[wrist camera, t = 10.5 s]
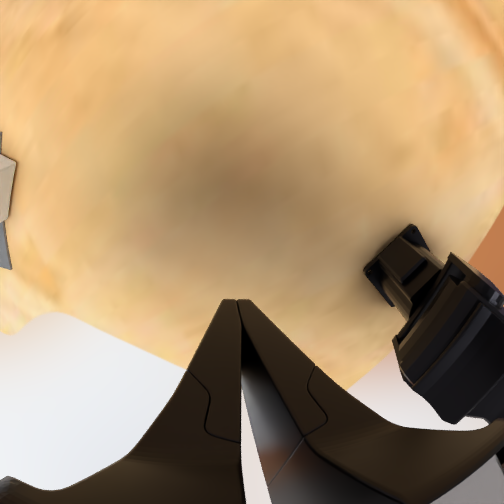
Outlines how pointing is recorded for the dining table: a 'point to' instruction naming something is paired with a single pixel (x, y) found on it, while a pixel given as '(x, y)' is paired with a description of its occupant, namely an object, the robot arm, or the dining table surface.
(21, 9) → the dining table surface
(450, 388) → the robot arm
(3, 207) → the skincare box
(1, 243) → the mat
